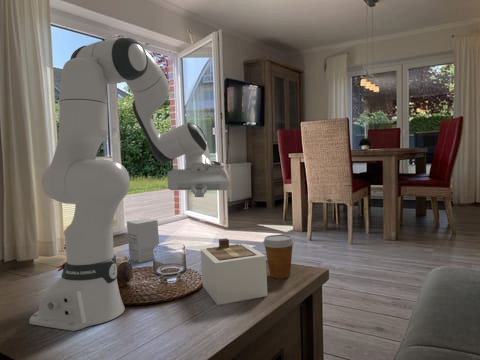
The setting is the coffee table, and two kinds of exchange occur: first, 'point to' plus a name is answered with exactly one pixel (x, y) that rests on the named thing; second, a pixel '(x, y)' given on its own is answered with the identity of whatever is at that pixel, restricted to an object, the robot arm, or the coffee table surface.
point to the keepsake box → (234, 276)
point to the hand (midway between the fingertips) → (199, 195)
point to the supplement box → (142, 239)
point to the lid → (229, 251)
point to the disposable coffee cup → (279, 255)
